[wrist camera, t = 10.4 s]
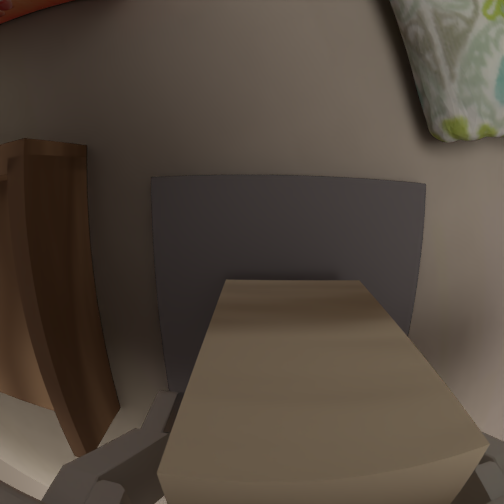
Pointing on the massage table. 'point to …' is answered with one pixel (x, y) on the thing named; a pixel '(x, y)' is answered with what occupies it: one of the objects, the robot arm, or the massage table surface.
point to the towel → (456, 64)
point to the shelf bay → (51, 291)
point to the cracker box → (24, 7)
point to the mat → (277, 245)
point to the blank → (314, 406)
